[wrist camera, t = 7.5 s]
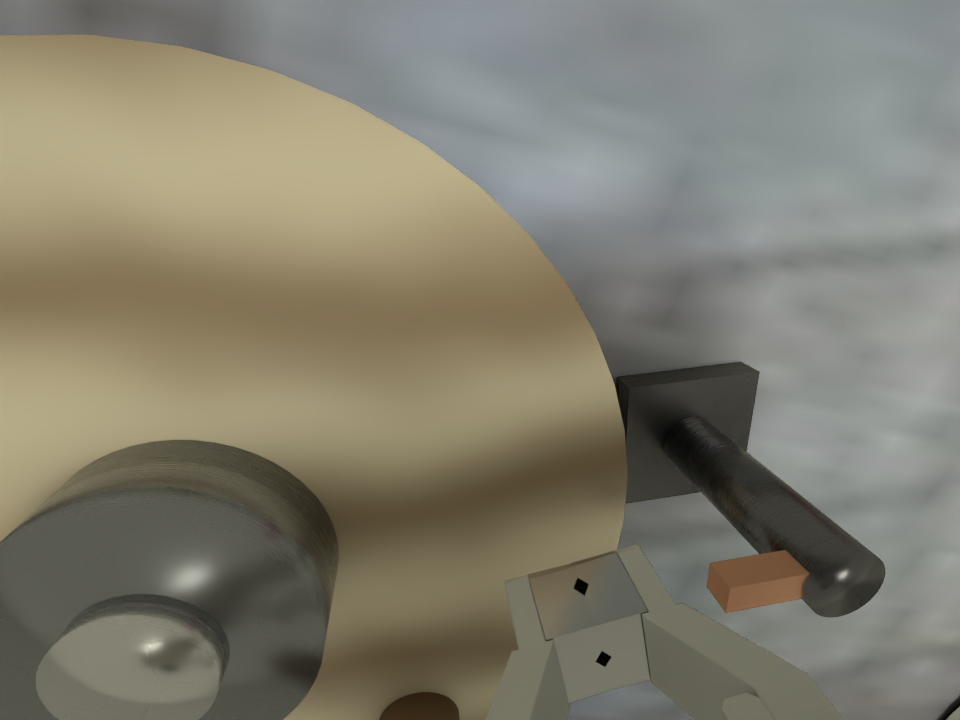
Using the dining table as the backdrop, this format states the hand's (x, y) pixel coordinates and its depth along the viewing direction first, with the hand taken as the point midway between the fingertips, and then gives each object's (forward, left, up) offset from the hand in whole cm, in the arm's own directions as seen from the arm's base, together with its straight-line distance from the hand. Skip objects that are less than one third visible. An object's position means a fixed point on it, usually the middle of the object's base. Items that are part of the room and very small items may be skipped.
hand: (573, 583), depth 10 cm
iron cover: (0, +10, -5) cm, 11 cm away
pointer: (-3, -6, -8) cm, 11 cm away
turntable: (0, +10, -6) cm, 11 cm away
